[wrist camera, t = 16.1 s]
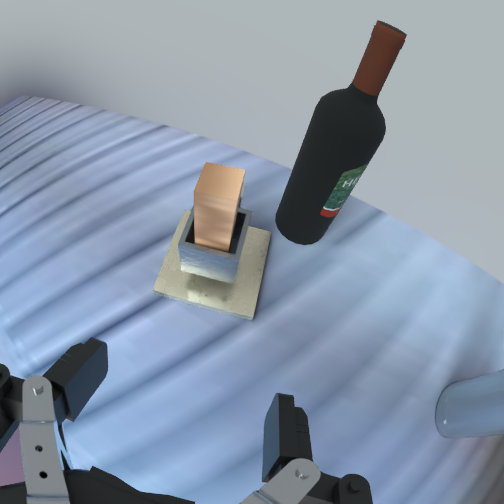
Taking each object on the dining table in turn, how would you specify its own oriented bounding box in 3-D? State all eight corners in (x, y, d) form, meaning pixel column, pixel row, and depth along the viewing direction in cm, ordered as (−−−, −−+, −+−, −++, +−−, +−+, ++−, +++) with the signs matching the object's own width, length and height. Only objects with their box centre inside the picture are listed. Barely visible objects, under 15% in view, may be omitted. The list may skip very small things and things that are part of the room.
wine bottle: (290, 194, 44) (361, 9, 18) (331, 220, 43) (432, 46, 17) (265, 225, 40) (339, 8, 15) (311, 254, 39) (431, 54, 13)
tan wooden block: (230, 246, 32) (245, 170, 22) (224, 271, 31) (237, 200, 20) (203, 240, 32) (205, 162, 22) (195, 265, 30) (193, 191, 20)
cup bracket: (269, 237, 40) (287, 190, 31) (251, 320, 34) (268, 290, 25) (185, 216, 39) (182, 164, 31) (154, 294, 33) (138, 255, 24)
